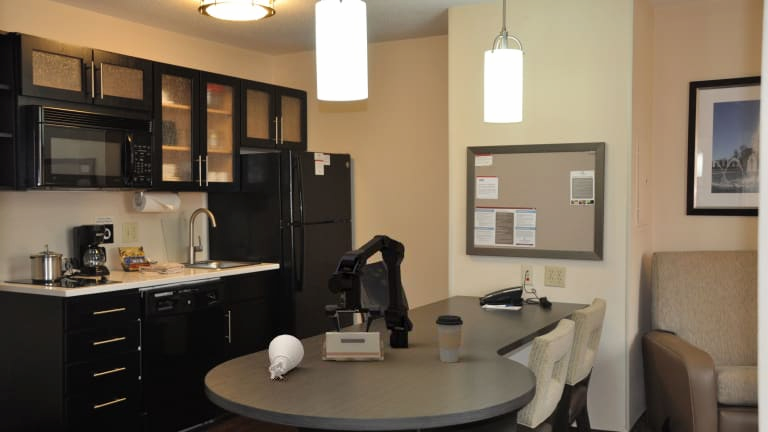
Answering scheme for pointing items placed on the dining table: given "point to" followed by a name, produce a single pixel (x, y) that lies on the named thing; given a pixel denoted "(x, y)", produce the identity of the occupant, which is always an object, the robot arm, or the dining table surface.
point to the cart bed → (381, 357)
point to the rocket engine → (284, 354)
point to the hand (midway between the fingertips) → (352, 335)
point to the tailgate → (352, 344)
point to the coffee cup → (449, 337)
